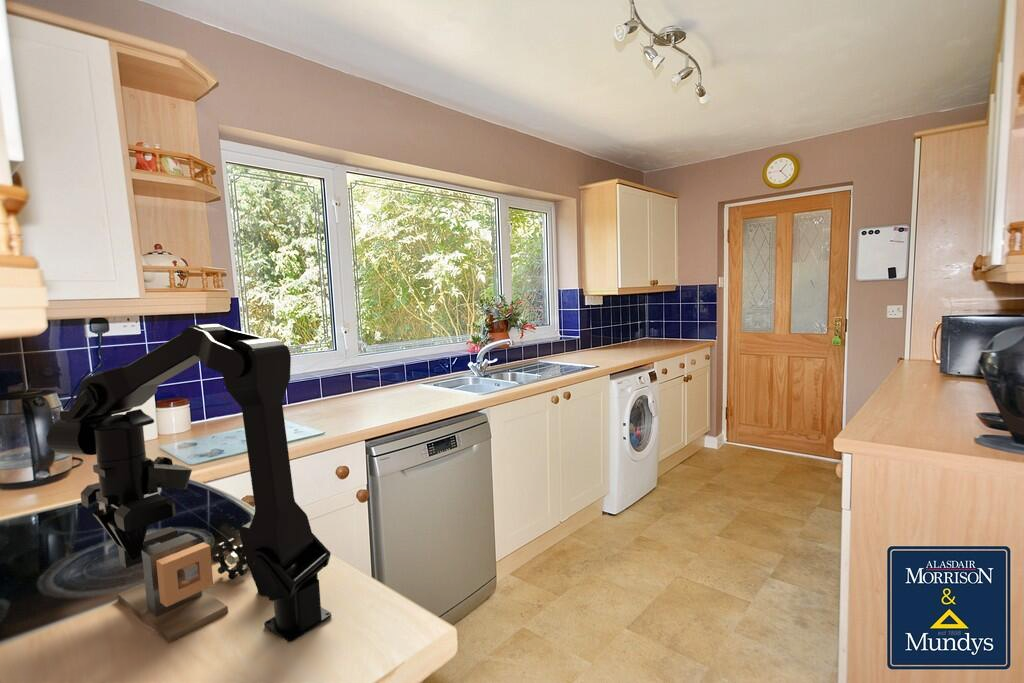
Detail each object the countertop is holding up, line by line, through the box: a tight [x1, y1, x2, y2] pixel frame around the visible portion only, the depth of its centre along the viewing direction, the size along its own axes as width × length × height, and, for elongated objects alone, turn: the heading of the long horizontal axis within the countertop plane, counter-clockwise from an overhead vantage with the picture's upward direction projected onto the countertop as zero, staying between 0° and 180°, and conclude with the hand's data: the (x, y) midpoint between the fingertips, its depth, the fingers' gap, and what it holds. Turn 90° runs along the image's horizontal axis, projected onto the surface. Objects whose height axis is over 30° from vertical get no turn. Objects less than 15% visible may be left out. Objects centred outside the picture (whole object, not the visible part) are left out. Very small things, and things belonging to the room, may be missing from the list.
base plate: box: [117, 582, 229, 644], centre depth 73 cm, size 18×8×1 cm, turn 56°
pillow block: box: [142, 533, 202, 617], centre depth 72 cm, size 3×6×9 cm, turn 145°
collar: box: [156, 541, 214, 607], centre depth 70 cm, size 2×6×6 cm, turn 145°
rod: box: [117, 526, 199, 581], centre depth 73 cm, size 16×7×3 cm, turn 56°
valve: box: [211, 537, 249, 580], centre depth 86 cm, size 7×7×12 cm
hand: (131, 556), depth 75 cm, fingers closed on rod, 2 cm apart
